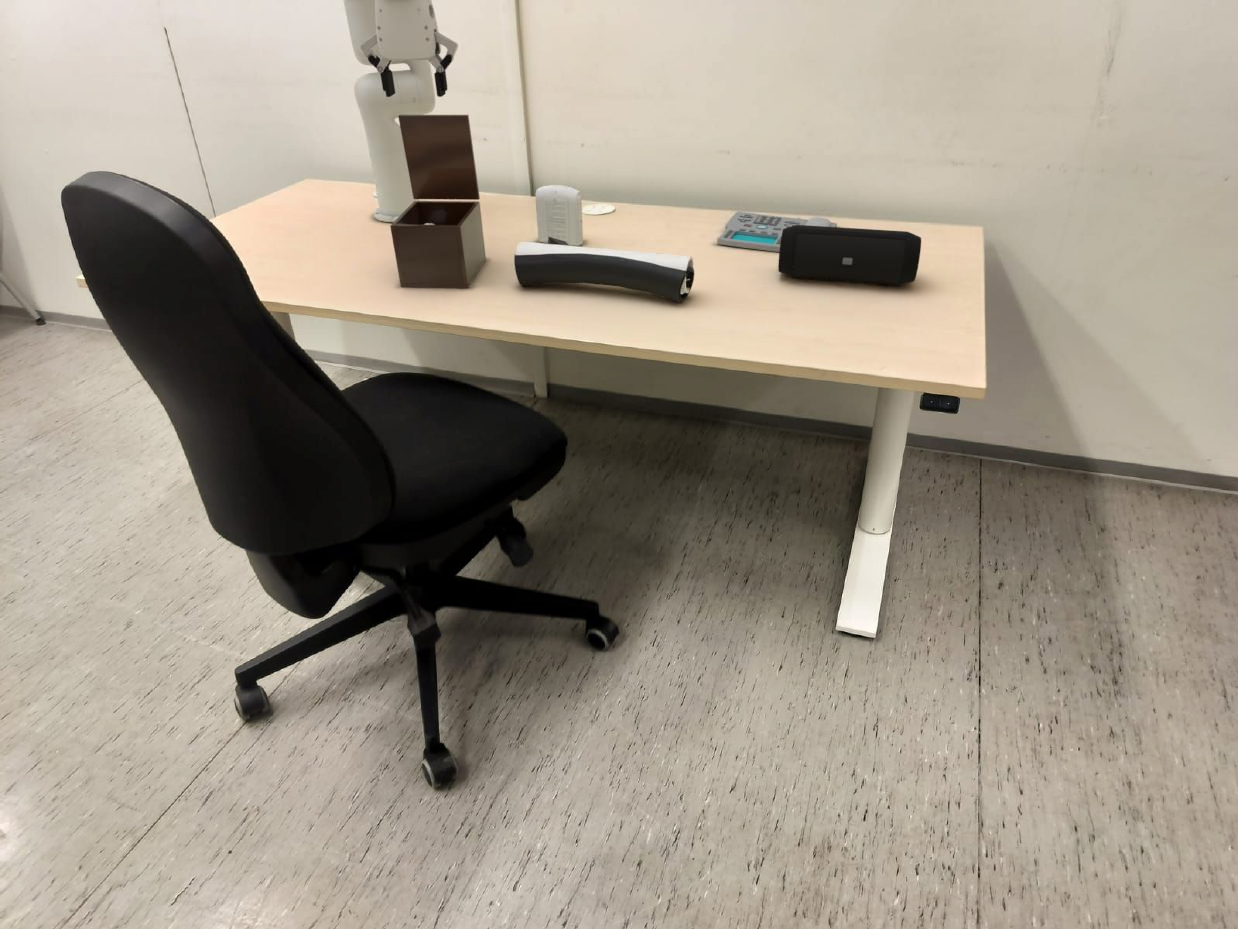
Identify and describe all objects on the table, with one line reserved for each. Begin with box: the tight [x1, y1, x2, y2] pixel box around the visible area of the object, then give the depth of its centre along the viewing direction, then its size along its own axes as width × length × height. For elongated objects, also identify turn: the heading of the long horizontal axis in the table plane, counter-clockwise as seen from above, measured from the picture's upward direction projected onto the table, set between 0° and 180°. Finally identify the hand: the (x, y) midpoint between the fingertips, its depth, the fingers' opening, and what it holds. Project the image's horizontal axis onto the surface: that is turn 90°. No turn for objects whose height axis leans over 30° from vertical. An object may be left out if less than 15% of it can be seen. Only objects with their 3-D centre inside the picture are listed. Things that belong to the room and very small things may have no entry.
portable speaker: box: [777, 225, 922, 287], centre depth 163 cm, size 26×10×10 cm, turn 75°
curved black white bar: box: [513, 237, 695, 303], centre depth 163 cm, size 35×9×14 cm
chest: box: [389, 200, 487, 289], centre depth 170 cm, size 16×14×12 cm
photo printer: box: [535, 184, 584, 247], centre depth 184 cm, size 10×4×12 cm, turn 72°
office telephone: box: [716, 211, 838, 253], centre depth 187 cm, size 23×3×20 cm
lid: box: [398, 114, 481, 201], centre depth 168 cm, size 16×14×1 cm
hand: (416, 95), depth 153 cm, fingers open, 9 cm apart
